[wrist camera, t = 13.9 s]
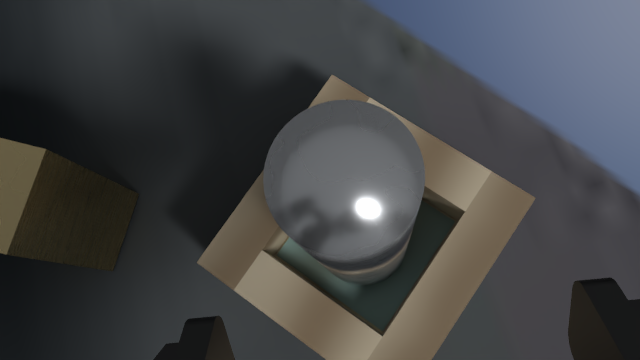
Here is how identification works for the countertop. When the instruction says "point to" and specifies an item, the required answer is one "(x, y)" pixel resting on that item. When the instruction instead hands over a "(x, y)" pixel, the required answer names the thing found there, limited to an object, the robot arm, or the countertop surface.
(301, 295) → the socket block
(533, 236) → the countertop surface
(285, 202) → the cylinder
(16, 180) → the yellow brown rectangular block
